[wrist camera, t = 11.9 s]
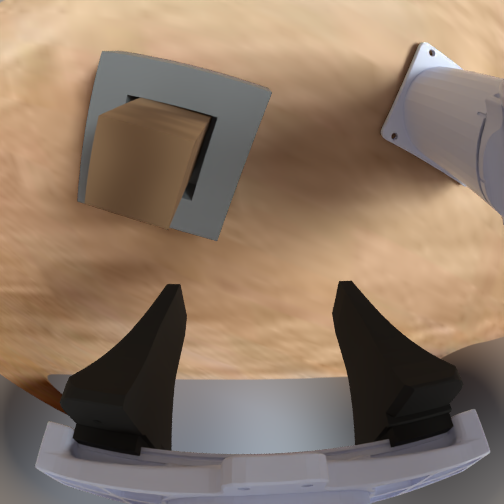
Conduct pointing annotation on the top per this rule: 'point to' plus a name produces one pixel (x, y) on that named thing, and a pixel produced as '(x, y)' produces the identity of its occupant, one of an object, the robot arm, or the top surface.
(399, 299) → the top surface
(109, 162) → the walnut peg
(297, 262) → the top surface
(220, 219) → the socket block
